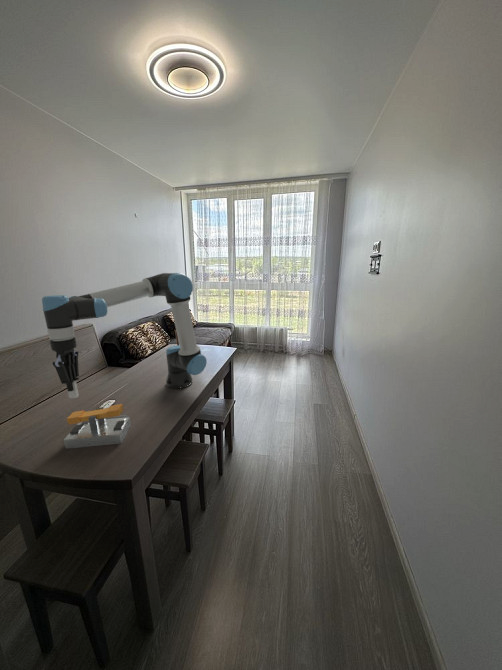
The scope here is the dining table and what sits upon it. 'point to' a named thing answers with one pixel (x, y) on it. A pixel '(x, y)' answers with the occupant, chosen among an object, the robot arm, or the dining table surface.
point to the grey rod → (117, 417)
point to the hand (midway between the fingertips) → (74, 397)
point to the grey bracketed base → (98, 432)
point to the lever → (95, 414)
